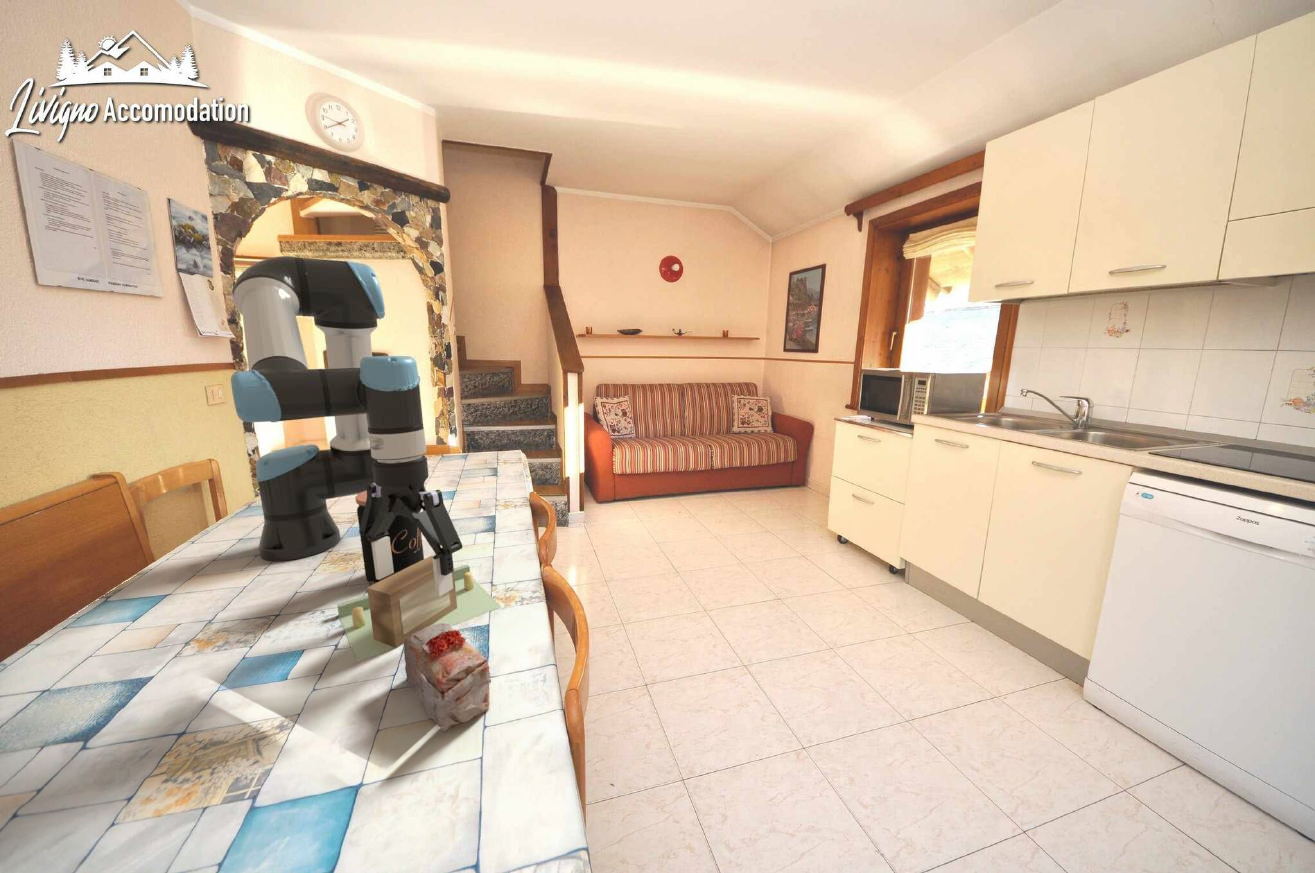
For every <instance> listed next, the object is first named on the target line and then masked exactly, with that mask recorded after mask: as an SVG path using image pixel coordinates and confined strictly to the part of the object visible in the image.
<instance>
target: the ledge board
mask: <svg viewBox="0 0 1315 873" xmlns="http://www.w3.org/2000/svg"><path fill="white" fill-rule="evenodd" d="M473 574H474V573H473V572H471V569H470V565H468V564H464V565H461V566H458V567H454V578H455V589H456V600H457V608H456V609H455V610H453V611H452V612H450V613H449V614H447V615H446V616H444V617H443V618H441V619H440V620H438V621H437V622H435V623H434V624H432V625H436V624H441V623H445V624H448V623H449V624H450V626H451V627H452V626H453V627H454V626H455V625H458V624H460V623H463V622H466V621H468V620H471V619H474V618H477V617H479V616H481V615H484V614H486V613H489V612H492V611H495V610H497V609H500V608H502V606H501V605H500V604H499V603H498V602H497V601H496V600H495V599H494V598H493V596H491V594H489V593H488V592H487V591H486V590H485V589H484V588H483V587H482V585H480V584H479V583H478V582H477V580H475V579H474V575H473ZM336 607H337V613H338V616H339V620H340V621H341V625H342V627H343V629H344V632H345V635H346V638H347V639H348V642H349V645H350V647H351V650H352V652H353V655H354V658H355V661H356V663H358V662H361V661H364V660H367V659H370V658H372V657H374V656H377V655H380V654H382V653H384V652H387V651H390V650H393V649H396V648H395V647H392V646H389V645H387V644H384V643H381V642H379V641H376V640H374V636H373V629H372V621H371V614H370V606H369V599H368V594H366V595H362V596H360V597H357V598H353V599H349V600H347V601H343V602H340V603H338V604H336ZM432 625H431V626H432ZM401 646H404V643H403V644H402V645H400V646H399V647H401Z"/></svg>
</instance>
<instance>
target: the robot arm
mask: <svg viewBox="0 0 1315 873" xmlns="http://www.w3.org/2000/svg"><path fill="white" fill-rule="evenodd" d="M232 298H233V304H234V305H235V308H236V309H237V311H238V313H239V314H240V315H242V320H243V329H244V330H243V331H244V338H245V339H244V340H245V349H246V359H247V365H248V368H247V369H248V370H245V371H244V370H243V371H236V372H234V373H232V375H231V377H230V384H231V393H232V398H233V403H234V408H235V412H236V415H237V417H238V418H239V419H240V420H241V421H242V422H245V423H264V422H271V423H278V422H285V421H294V420H296V421H297V420H307V419H317V418H318V419H319V418H327V417H333V418H334V422H335V423H334V424H335V432H336V433H335V434H336V435H335V436H334V437H332V439H330V440H329V449H322V450H320V448H319V447H318V445H316V444H301V445H295V446H289V447H285V448H282V449H278V450H274V451H271V452H269V453H266V454H264V455H262V456H261V457H258V459H257V460H256V462H255V472H256V474H255V475H256V478H255V481H256V482H257V484H258V490H259V495H260V500H261V501H260V502H261V508H262V515H263V520H264V522H263V523H264V524H263V527H262V531H261V536H260V541H259V544H258V551H259V556H260V557H261V558H262V559H263V560H265V561H266V560H267V561H271V562H272V561H273V562H274V561H276V562H277V561H278V562H280V561H283V562H284V561H292V560H297V559H298V560H299V559H301V558H302V559H303V558H306V557H310V556H314V555H317V554H320V553H323V552H325V551H327V550H329V549H332V548H333V547H335V546H336V545H338V544H339V543H340V541H341V534H340V533H341V531H340V528H339V527H338V525H337V524H336V522H335V520H334V519H333V516H332V515H331V513H330V512H329V509H328V507H327V506H328V505H327V500H329V499H330V500H331V499H336V498H342V497H349V496H356V495H358V494H359V493H361V492H364V491H366V490H367V499H366V504H365V508H364V512H363V516H362V520H361V525H360V529H359V530H358V533H359V535H361V536H363V535H366V536H367V539H368V540H369V541H370V542H371V550H372V556H373V559H374V566H375V574H376V579H378V580H380V579H382V578H384V577H386V576H388V575H390V574H392V573H394V570H393V561H392V553H391V545H390V537H387V536H386V537H384V538H383V536H385V535H387V534H389V533H388V532H387V531H388V529H389V527H390V526H391V524H392V522H393V520H394V519H395V517H396V516H398V515H401V516H403V517H407V518H409V520H410V521H411V522H414V523H415V524H416V525H417V527H418V528H419V530H420V531H421V535H422V536H423V537H424V538H425V540H426V542H427V543H428V544H429V546H430V547H431V549H432V550H433V552H434V554H435V555H431V556H432V561H433V571H434V581H435V590H436V596H439V597H440V596H442V595H443V594H445V593H447V592H448V591H450V590H452V589H453V579H452V572H453V569H454V568H455V567H454V560H453V558H454V557H453V554H455V552H458V551H460V550H462V549H463V544H462V541H461V538H460V537H459V534H458V532H457V530H456V527H455V526H454V523H453V521H452V519H451V517H450V514H449V512H448V510H447V508H446V506H445V502H444V499H443V498H444V497H443V493H442V491H441V490H440V489H435V490H433V491H427V489H426V487H425V482H426V481H427V479H428V478H429V477H430V476H429V467H428V466H429V464H428V458H427V457H426V455H424V454H425V453H426V452H427V445H426V436H425V428H424V421H423V420H424V419H423V411H422V410H423V409H422V397H421V388H420V386H421V385H420V383H421V382H420V381H421V378H420V375H419V371H418V365H417V361H416V360H415V358H414V357H412V356H409V355H403V356H402V355H387V356H385V355H379V356H378V355H377V356H373V351H372V350H373V349H372V339H371V335H372V333H373V332H374V331H375V330H376V329H377V328H378V320H381V319H384V318H385V316H386V312H385V309H386V308H385V301H384V296H383V293H382V288H381V286H380V283H379V279H378V277H377V274H376V273H375V270H373V268H372V267H371V266H370V265H368V264H365V263H362V262H361V263H360V262H354V261H349V260H337V259H336V260H335V259H322V258H307V257H298V256H297V257H295V256H288V255H285V256H282V255H281V256H274V257H269V258H265V259H263V260H260V261H258V262H256V263H254V264H252V265H250V266H249V267H247V268H246V269H245V270H244V271H243V272H242V273H241V274H240V275H239V276H238V277H237V279H236V281H235V283H234V285H233V289H232ZM297 317H307V318H308V317H310V318H311V317H313V321H314V326H315V327H316V328H318V329H319V330H320V331H321V332H322V333H323V334H324V341H325V348H326V349H325V350H326V358H327V366H328V368H313V369H312V368H309V365H308V361H307V356H306V353H305V349H304V345H303V340H302V336H301V333H300V327H299V324H298V323H299V322H298V320H297ZM369 524H371V525H370V526H369ZM453 567H454V568H453Z"/></svg>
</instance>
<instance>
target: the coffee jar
mask: <svg viewBox="0 0 1315 873" xmlns="http://www.w3.org/2000/svg"><path fill="white" fill-rule="evenodd" d="M354 497H355V503H356V504H357V506H358V507H357V508H356V513H357V522H358V528H359V529H360V525H361V520H362V516H363V512H364V508H365V504H366V499H367V490H366V491H364V492H361V493H359V494H356V495H355V496H354ZM370 525H371V524H369V526H370ZM387 532H388V533H389V534H387V535H385V536H383V538H384V537H386V536H387V537H390V545H391V553H392V561H393V570H394V573H392V574H390V575H388V576H386V577H384V578H382V579H380V580H378V579H376V574H375V566H374V559H373V556H372V550H371V542H370V541H369V540H368V539H367V536H366V535H363V536H361V535H360V534H359V535H360V543H361V544H360V545H361V550H362V551H361V552H362V558H363V566H364V574H365V580H366V581H367V582H368V583H371V582H373V583H374V584H375V583H377V582H379V581H381V580H383V579H385V578H387V577H389V576H391V575H393V574H395V573H397V572H399V571H401V570H403V569H405V568H407V567H409V566H411V565H413V564H415V563H417V562H419V561H421V560H424V559H425V554H424V545H423V537H422V536H423V534H422V533H421V531H420V530H419V528H418V527H417V525H416V524H415V523H414V522H411V521H410V520H409V518H407V517H403V516H401V515H398V516H396V517H395V519H394V520H393V522H392V524H391V526H390V527H389V529H388V531H387Z"/></svg>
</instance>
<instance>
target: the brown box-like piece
mask: <svg viewBox="0 0 1315 873" xmlns="http://www.w3.org/2000/svg"><path fill="white" fill-rule="evenodd" d="M432 556H433V555H429V556H428V557H426V558H424V560H421V561H419V562H417V563H415V564H413V565H411V566H409V567H407V568H405V569H403V570H401V571H399V572H397V573H395V574H393V575H391V576H389V577H387V578H385V579H383V580H381V581H379V582H377V583H375V582H374V583H373V584H372V585H369V586H367V587H366V589H367V590H366V591H367V595H368V599H369V606H370V614H371V621H372V629H373V636H374V640H376V641H379V642H381V643H384V644H387V645H389V646H392V647H395V648H394V649H397V648H399V647H401V646H403V645H404V644H403V643H404V642H403V641H404V640H405V639H406V638H407V637H408V636H410V635H412V634H413V633H415V632H417V631H420V630H422V629H424V628H425V627H428V626H431V625H432V624H434V623H435V622H437V621H438V620H440V619H441V618H443V617H444V616H446V615H447V614H449V613H450V612H452V611H453V610H455V609H456V608H457V600H456V589H455V578H454V569H453V572H452V579H453V589H452V590H450V591H448V592H447V593H445V594H443V595H442V596H440V597H439V596H436V590H435V581H434V571H433V561H432ZM453 568H455V567H454V566H453ZM402 644H403V645H402ZM400 645H401V646H400Z"/></svg>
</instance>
